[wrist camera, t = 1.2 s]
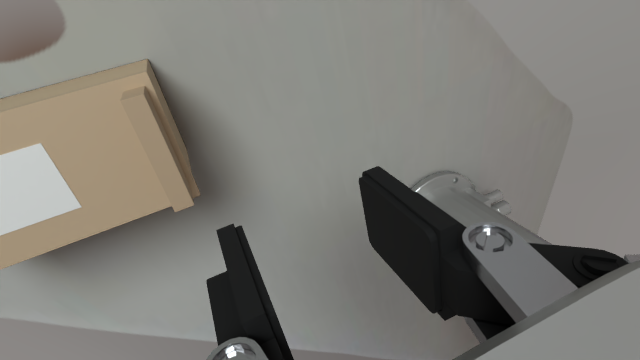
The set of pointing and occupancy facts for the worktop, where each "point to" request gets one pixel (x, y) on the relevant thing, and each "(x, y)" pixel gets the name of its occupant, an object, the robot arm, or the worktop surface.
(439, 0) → the worktop surface
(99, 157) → the lid
